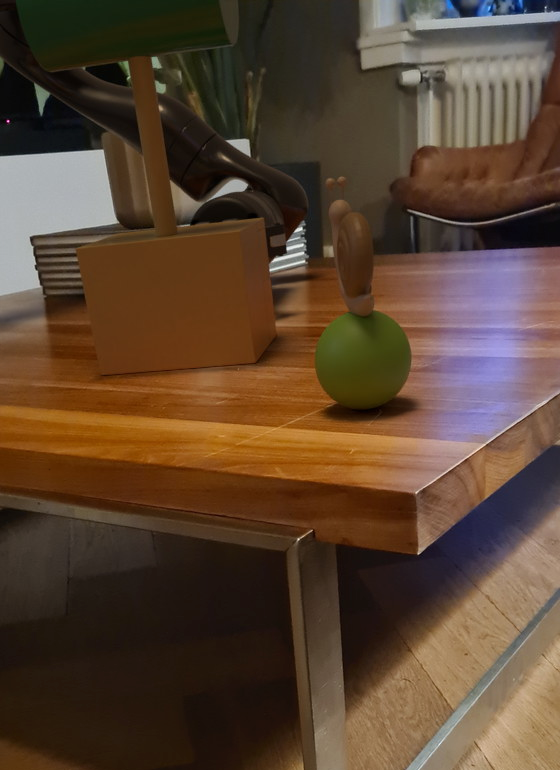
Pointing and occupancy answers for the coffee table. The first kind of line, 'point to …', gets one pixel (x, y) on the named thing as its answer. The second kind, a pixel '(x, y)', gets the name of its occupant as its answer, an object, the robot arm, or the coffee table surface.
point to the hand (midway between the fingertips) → (194, 258)
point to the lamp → (160, 202)
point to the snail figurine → (359, 322)
